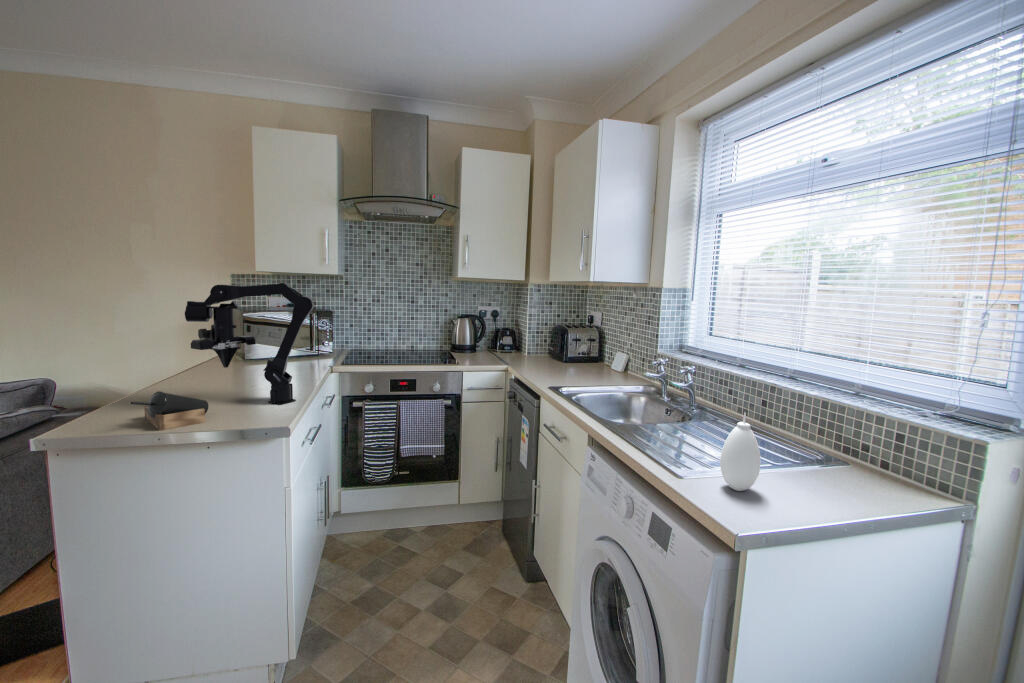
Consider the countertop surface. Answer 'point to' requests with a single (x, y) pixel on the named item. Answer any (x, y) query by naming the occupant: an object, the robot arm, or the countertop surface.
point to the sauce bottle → (740, 457)
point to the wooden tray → (176, 418)
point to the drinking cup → (172, 404)
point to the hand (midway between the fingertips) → (225, 367)
